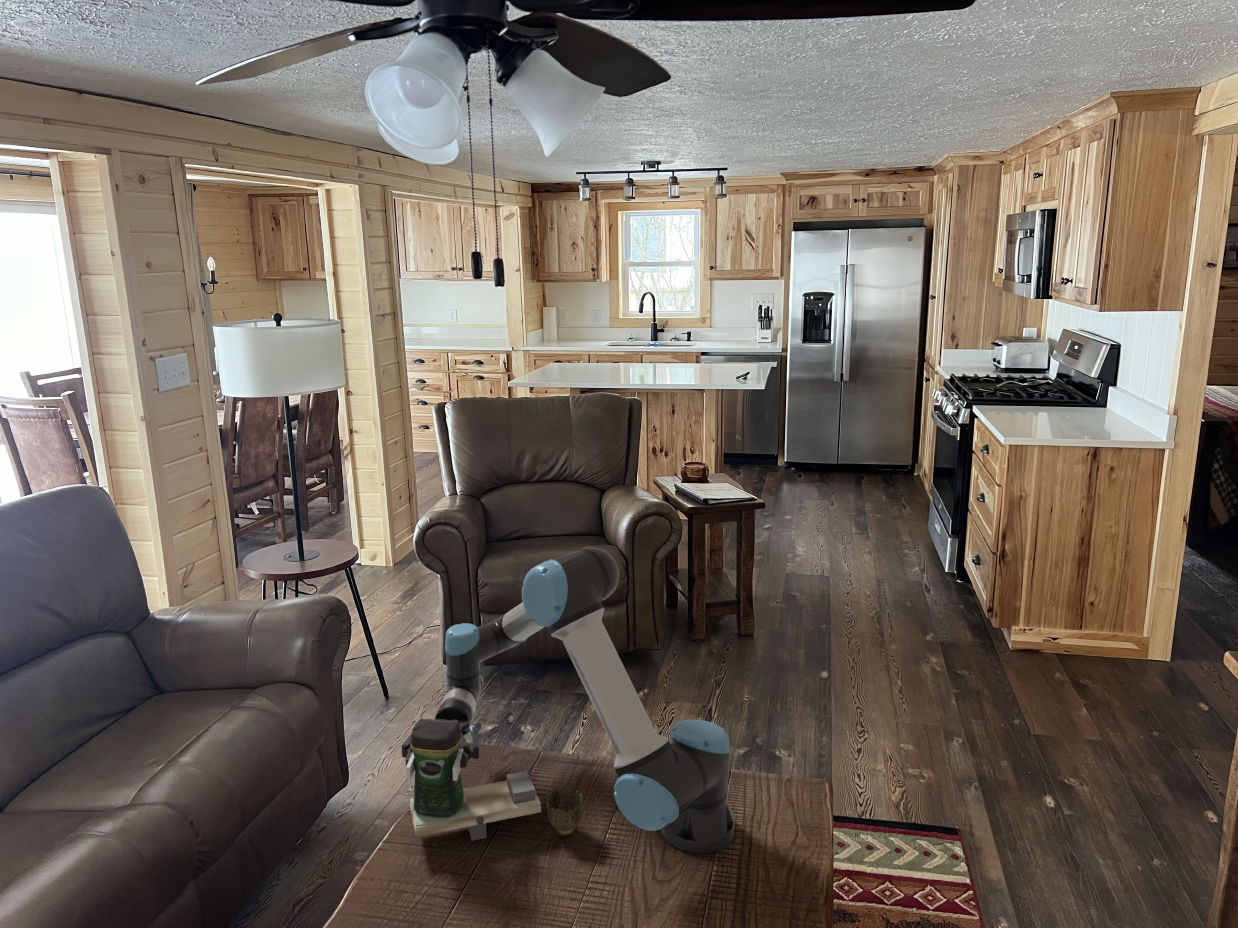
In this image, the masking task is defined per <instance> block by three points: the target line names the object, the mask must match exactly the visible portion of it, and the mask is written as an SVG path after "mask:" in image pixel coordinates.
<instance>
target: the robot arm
mask: <svg viewBox="0 0 1238 928" xmlns="http://www.w3.org/2000/svg"><path fill="white" fill-rule="evenodd" d="M618 566H619V565H618V563H617V562H616V560H615V559H614V557H613V556H612V555H611V554H610V553H609V552H607V551H606V550H604V549H602V548H600V547H594V546H586V547H582V548H581V547H580V548H579V549H575V550H574V551H571V552H568V553H566V554H563V555H562V554H561V555H560V556H557V557H553V558H551V559H547V560H546V561H542V563H539V564H538V565H536V566H534V567H532V568H531V569H530V570H529V571H528V572H527V574H526V575H525V577H524V579H523V582H522V585H523V586H522V588H521V599H522V602H521V603H519V604H518V605H516V606H515V607H513V608H512V609H510V610H508V611H507V612H505V613H504V614H503V615H501V616H500V617H498V618H496V619H494V620H493V621H490V622H488V623H486V624H484V625H480V626H476V625H475V624H473V623H463V622H462V623H459V624H457V623H456V624H454V625H451V626H450V627H449V628H448V629H447V630H446V632H445V642H444V643H445V645H444V650H445V662H446V691H445V693H444V696H443V699H442V700H441V702H440V704H439V708H438V709H437V712H436V713H435V716H434V719H437V720H450V721H456V722H458V723H459V726H460V731H461V744H460V747H459V750H458V754H457V757H456V760H455V763H454V765H453V781H457V779H458V776H459V773H460V774H461V770H462V769H465V768H467V766H468V763H469V760H470V759H472V758H473V759H474V760H478V759H479V758H480V739H481V737H482V734H483V732H482V723H481V722H476V723H475V724H474V725H471V722H472V720H473V716H474V714H475V711H476V707H477V704H478V702H479V699H480V697H481V696H482V693H483V689H484V678H483V675H482V674H481V662H483V661H486V660H488V659H490V658H492V657H494V656H497V655H499V654H500V653H503V652H505V651H507V650H510V649H512V648H515V647H518V646H519V645H521V644H523V643H524V642H525V641H527V640H528V638H529V637H530V636H532V635H534V634H536V633H537V632H539V631H541V630H542V629H544V628H545V627H547V629H548V632H549V634H550V636H551V637H553V638H556V639H559V640H560V641H562V643H563V645H564V648H565V649H566V651H567V653H568V655H569V657H570V661H572V664H573V666H574V669H575V670H576V672H577V674H578V677H579V679H580V681H581V683H582V684H583V686H584V689H585V691H586V693H587V696H588V697H589V700H590V701H591V704H592V705H593V708H594V710H595V712H596V714H597V717H598V718H599V720H600V723H601V725H602V726H603V729H604V730H605V733H606V734H607V735H606V736H607V737H608V739H609V741H610V744H611V745H612V748H613V749H614V753H615V754H616V757H615V760H614V763H613V769H614V771H615V773H616V776H617V777H618V778H617V780H616V782H615V784H614V787H613V790H614V792H613V795H614V801H615V803H616V806H617V807H618V810H619V811H620V813H622V815H623V816H624V817H625V819H627V820H628V821H629V822H630V823H631V824H632V825H635V826H637V827H638V828H640V829H642V830H645V831H651V832H652V831H655V832H656V831H659V830H660V831H661V834H662V837H663V838H664V839H665V840H666V842H667V843H668V844H670V845H671V846H673V847H674V848H676V849H678V850H681V851H684V852H686V853H691V854H711V853H715V852H718V851H721V850H723V849H725V848H726V847H728V846H729V845H730V844H731V843H732V841H733V839H734V837H735V828H736V827H735V825H736V824H735V818H734V814H733V811H732V808H731V805H730V803H729V799H728V787H729V785H728V784H729V765H730V753H731V749H730V737H729V735H728V733H727V730H725V729H724V728H723V727H721V726H720V725H718V724H716V723H714V722H711V721H706V720H704V719H703V720H701V719H685V720H680V721H678V722H677V723H675V724H673V726H672V728H671V732H670V740H669V738H668V737H666V736H663V735H661V734H658V732H656V729H655V727H654V726H653V723H652V721H651V720H650V717H649V715H648V713H647V711H646V709H645V706H643V705H644V704H643V702H642V700H641V699H640V696H639V695H638V693H637V691H636V689H635V686H634V685H633V683H632V680H631V679H630V676H629V674H628V672H627V670H626V668H625V666H624V664H623V662H622V660H621V658H620V656H619V654H618V651H617V650H616V648H615V646H614V643H613V641H612V639H611V637H610V635H609V633H608V631H607V629H606V626H605V625H604V623H603V621H602V619H603V615H604V612H605V607H604V605H603V604H602V601H604V600H606V599H607V598H609V597H610V596H611V595H612V594H614V592H615V591H616V589H617V587H618V583H619V581H620V570H619V567H618ZM469 733H470V735H471V737H472V747H470V744H468V742H467V740H466V738H465V736H466V735H467V734H469ZM411 734H412V732H411ZM411 734H409V736H408V737H407V738H406V739H405V741H403V743H402V744H401V757H402V758H405V771H406V772H405V775H406V781H407V780H409V781H410V780H411V779H412V777H413V775H414V774H415V760H414V754H413V752H412V749H411V745H410V743H411Z"/></svg>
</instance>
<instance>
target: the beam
mask: <svg viewBox="0 0 1238 928" xmlns="http://www.w3.org/2000/svg"><path fill="white" fill-rule="evenodd" d="M463 796H464V800H463V804H462V806H461V808H460V809H459V810H458V811H457V812H456V813H455V814H453V815H451V816H448V817H436V816H426V815H421V814H418V813H417V812H416V811H415V810H414V797H410V798H409V808H410V812H411V818H412V824H413V829H414V835H415V837H417V838H418V837H422V836H427V835H428V836H429V835H431V834H437V833H442V832H447V831H448V832H449V831H452V830H458V829H462V828H468V826H474V825H480V824H484V823H486V824H487V823H493V822H498V821H502V820H507V819H513V818H518V817H523V816H529V815H533V814H538V813H542V802H541V801H540V798H539V796H538V794H537V791H536V789H535V786H534V784H533V781H532V779H531V777H530V774H529V772H528V770H523V771H520V772H513V773H507V774H506V780H502V781H501V780H500V781H497V782H496V781H495V782H492V783H486V784H485V783H484V784H481V785H475V786H469V787H464V788H463Z"/></svg>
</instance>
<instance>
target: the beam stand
mask: <svg viewBox="0 0 1238 928" xmlns="http://www.w3.org/2000/svg"><path fill="white" fill-rule="evenodd" d="M467 829H468V833H469V836H470V840H471V842H474V841H477V840H481V839H487V823H484V824H480V825H474V826H468V827H467Z"/></svg>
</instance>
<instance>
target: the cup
mask: <svg viewBox="0 0 1238 928" xmlns="http://www.w3.org/2000/svg"><path fill="white" fill-rule="evenodd" d="M547 794H548V795H547V797H548V798H546V806H547V815H548V819H549V822H550V824H551V826H552V827H553V828H554V829H555V831H556V833H557V834H558V836H560V837H569V836H571V835H572V834H573V833H574V830H575V828H577V826H578V825H579V823H580V821H581V817H582V811H583V802H584V796H583V793H582V792H581V793H580V791H579V790H578V789H577V790H576V791H575V789H574V788H573V787H572V788H569V787H566V788H565V790H564V788H563V787H560V789H559V790H558V789H556V788H553V790H552V791H551V792H548V793H547Z"/></svg>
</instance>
